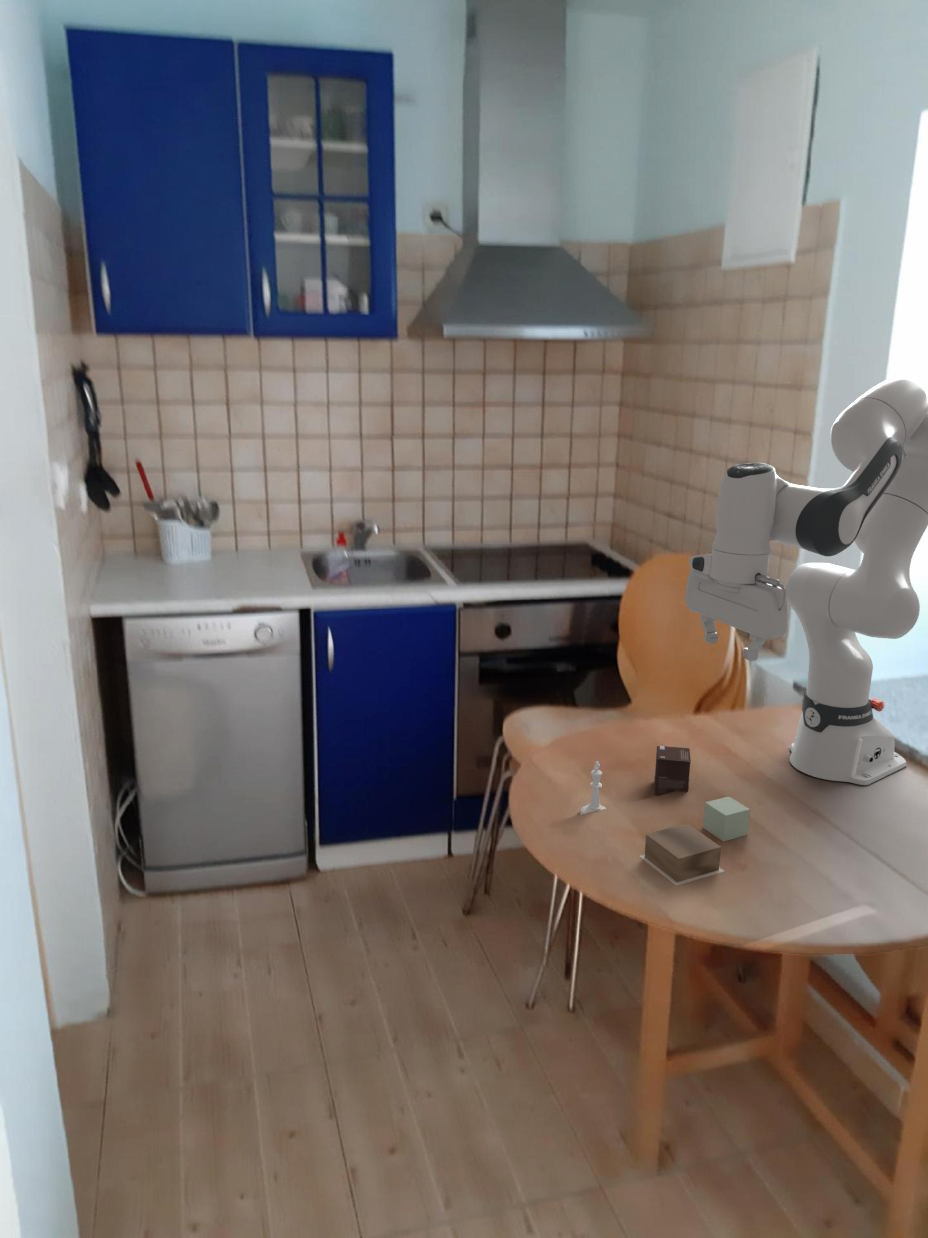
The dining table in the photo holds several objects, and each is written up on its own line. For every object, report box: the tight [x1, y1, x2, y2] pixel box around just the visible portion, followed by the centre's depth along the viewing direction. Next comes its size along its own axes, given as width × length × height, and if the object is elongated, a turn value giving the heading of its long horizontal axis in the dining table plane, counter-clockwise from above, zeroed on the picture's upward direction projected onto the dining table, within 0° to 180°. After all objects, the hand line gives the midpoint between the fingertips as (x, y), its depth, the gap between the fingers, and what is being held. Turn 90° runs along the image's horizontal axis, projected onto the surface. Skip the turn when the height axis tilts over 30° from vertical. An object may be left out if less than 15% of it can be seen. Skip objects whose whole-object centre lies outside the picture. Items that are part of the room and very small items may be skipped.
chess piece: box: [579, 760, 607, 816], centre depth 163 cm, size 5×5×10 cm
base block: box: [644, 823, 722, 882], centre depth 146 cm, size 8×8×4 cm
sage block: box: [702, 796, 751, 842], centre depth 156 cm, size 5×5×6 cm
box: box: [653, 745, 691, 796], centre depth 173 cm, size 6×6×7 cm
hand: (729, 650), depth 153 cm, fingers open, 8 cm apart
